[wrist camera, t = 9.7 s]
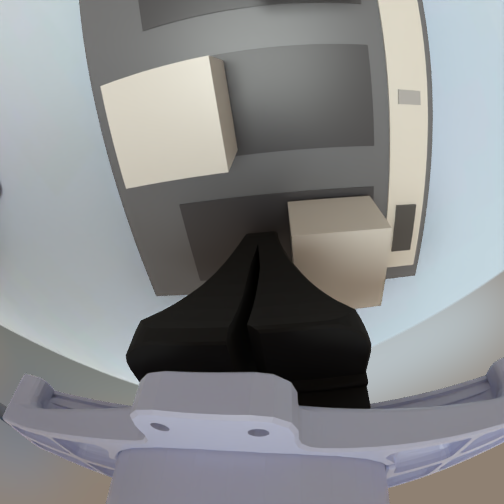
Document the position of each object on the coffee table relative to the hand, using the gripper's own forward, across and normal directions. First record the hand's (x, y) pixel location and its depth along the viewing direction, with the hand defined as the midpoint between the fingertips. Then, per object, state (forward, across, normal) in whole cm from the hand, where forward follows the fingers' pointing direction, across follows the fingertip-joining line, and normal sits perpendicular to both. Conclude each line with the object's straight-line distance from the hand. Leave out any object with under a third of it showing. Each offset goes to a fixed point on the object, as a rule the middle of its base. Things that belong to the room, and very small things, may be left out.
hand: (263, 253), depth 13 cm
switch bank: (+3, -1, -6) cm, 7 cm away
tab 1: (+1, +2, -6) cm, 6 cm away
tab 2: (+1, -3, 0) cm, 3 cm away
